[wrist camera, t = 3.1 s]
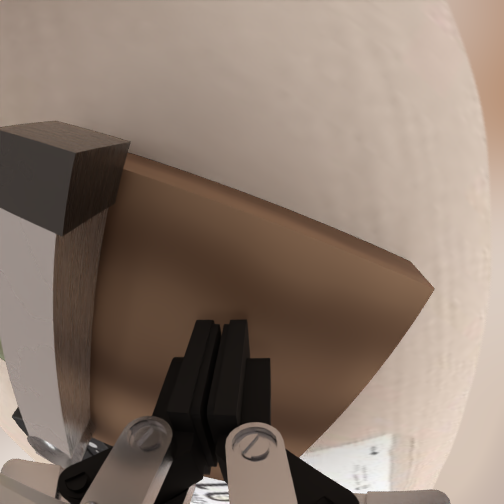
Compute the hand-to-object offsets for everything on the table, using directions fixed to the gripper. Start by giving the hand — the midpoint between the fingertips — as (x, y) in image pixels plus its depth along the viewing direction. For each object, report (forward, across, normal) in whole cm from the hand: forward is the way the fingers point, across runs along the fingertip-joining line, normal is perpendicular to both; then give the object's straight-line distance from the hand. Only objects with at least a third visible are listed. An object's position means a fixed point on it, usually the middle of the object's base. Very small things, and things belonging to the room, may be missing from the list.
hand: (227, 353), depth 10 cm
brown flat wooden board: (+4, +9, 0) cm, 10 cm away
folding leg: (+1, +7, 0) cm, 7 cm away
